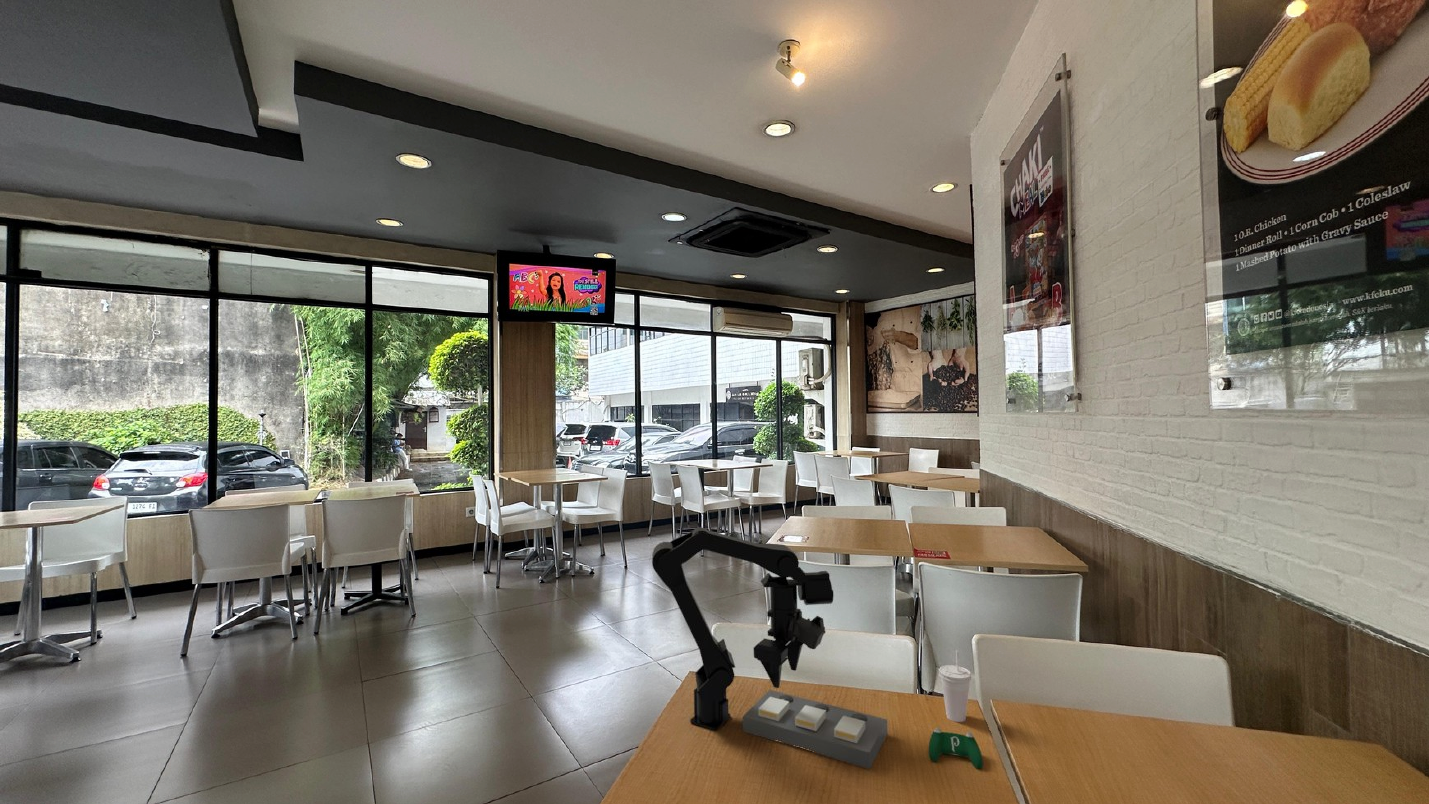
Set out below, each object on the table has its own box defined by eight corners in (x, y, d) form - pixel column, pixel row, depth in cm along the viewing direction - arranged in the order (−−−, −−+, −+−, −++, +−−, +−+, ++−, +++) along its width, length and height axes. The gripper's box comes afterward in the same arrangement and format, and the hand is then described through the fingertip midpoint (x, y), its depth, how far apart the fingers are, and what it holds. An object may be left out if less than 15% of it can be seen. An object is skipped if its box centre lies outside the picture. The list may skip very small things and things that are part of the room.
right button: (833, 737, 111) (833, 729, 111) (843, 723, 116) (843, 715, 116) (856, 743, 108) (856, 735, 108) (865, 728, 113) (865, 721, 113)
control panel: (742, 731, 119) (742, 715, 119) (769, 703, 130) (769, 688, 130) (869, 769, 106) (869, 751, 106) (887, 734, 117) (887, 718, 117)
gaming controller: (982, 774, 107) (978, 738, 111) (983, 767, 104) (980, 731, 108) (928, 765, 110) (927, 731, 114) (929, 758, 107) (927, 724, 111)
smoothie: (975, 726, 119) (974, 658, 119) (942, 723, 120) (941, 656, 121) (968, 710, 125) (967, 645, 126) (937, 708, 127) (936, 643, 127)
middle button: (794, 725, 115) (794, 717, 115) (805, 712, 120) (805, 705, 120) (816, 731, 112) (815, 723, 112) (826, 717, 117) (825, 710, 117)
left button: (758, 716, 119) (758, 708, 119) (770, 703, 124) (770, 696, 124) (778, 721, 116) (777, 714, 116) (789, 708, 121) (789, 701, 121)
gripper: (802, 626, 113) (804, 707, 113) (834, 598, 129) (835, 669, 129) (751, 617, 119) (753, 693, 118) (787, 591, 135) (789, 659, 135)
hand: (785, 678), depth 125 cm, fingers open, 9 cm apart
